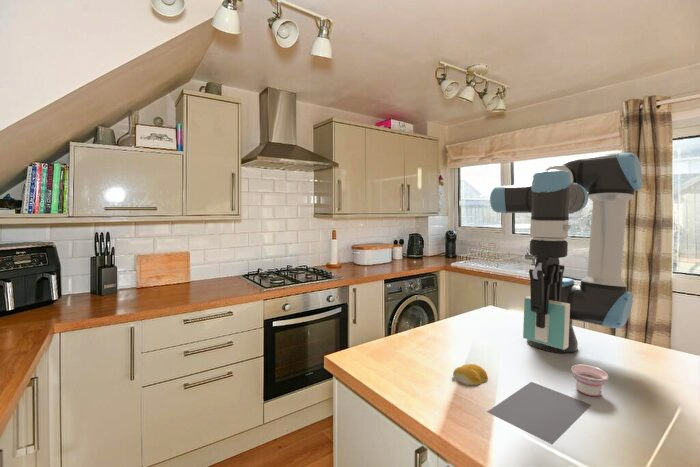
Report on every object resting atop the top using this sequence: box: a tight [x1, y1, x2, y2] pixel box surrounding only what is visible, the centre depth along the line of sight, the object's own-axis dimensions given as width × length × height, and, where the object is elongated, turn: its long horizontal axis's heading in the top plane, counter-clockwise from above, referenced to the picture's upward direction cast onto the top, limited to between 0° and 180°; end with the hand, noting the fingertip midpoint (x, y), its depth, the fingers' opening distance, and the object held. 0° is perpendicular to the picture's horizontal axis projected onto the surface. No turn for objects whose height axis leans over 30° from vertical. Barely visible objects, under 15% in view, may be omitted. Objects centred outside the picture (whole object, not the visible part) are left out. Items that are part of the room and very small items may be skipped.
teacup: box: [570, 363, 609, 397], centre depth 87 cm, size 12×12×6 cm
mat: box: [486, 381, 592, 445], centre depth 80 cm, size 14×22×1 cm, turn 128°
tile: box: [522, 295, 570, 350], centre depth 80 cm, size 9×3×10 cm, turn 38°
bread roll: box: [452, 363, 489, 386], centre depth 96 cm, size 8×9×4 cm
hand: (544, 338), depth 80 cm, fingers closed on tile, 3 cm apart
